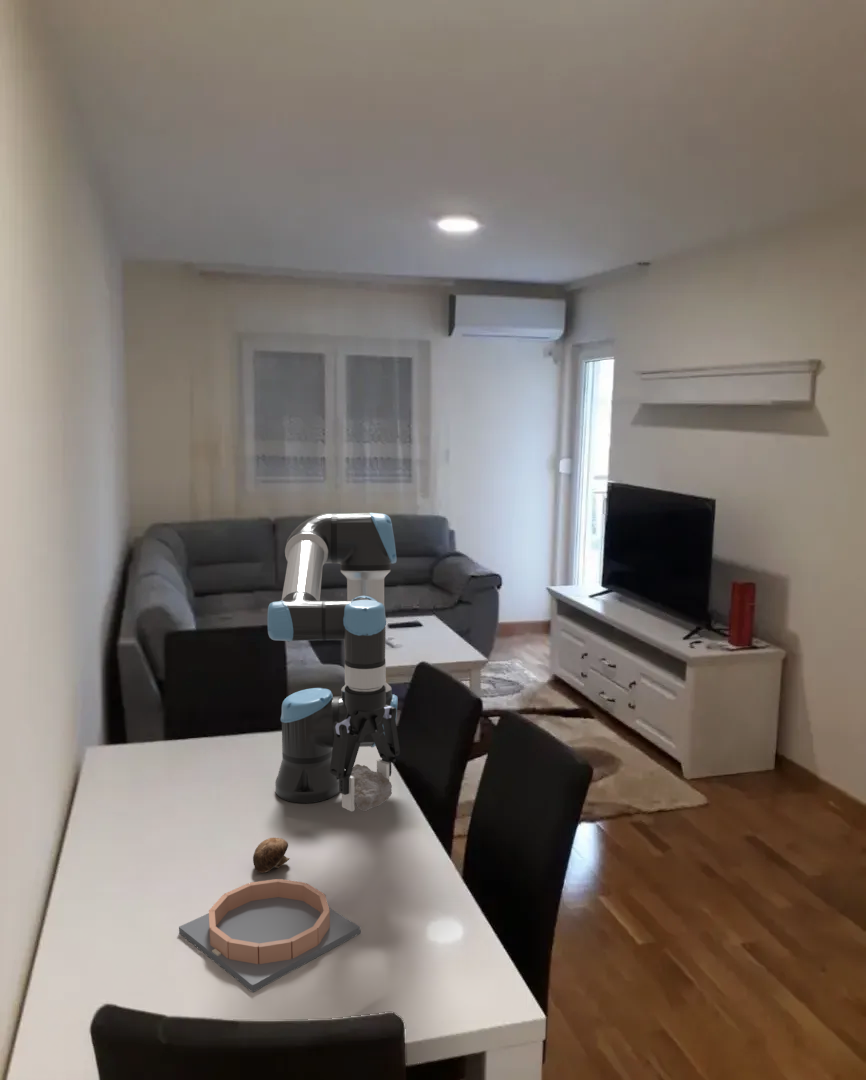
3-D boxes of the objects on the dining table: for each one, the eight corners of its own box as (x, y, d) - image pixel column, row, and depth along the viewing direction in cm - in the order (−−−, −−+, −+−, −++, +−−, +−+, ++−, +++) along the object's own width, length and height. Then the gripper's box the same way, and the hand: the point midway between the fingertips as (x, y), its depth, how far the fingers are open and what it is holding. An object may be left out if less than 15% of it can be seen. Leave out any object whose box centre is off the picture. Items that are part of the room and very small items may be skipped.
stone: (333, 796, 173) (332, 768, 172) (368, 785, 178) (368, 757, 177) (361, 816, 165) (360, 786, 164) (397, 804, 170) (397, 775, 169)
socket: (283, 884, 172) (283, 864, 171) (360, 933, 157) (360, 910, 156) (179, 933, 156) (178, 910, 156) (252, 992, 141) (252, 967, 140)
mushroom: (304, 847, 180) (284, 825, 178) (287, 879, 173) (266, 857, 171) (278, 855, 184) (258, 834, 182) (260, 887, 177) (239, 866, 176)
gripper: (392, 668, 177) (393, 778, 181) (307, 693, 162) (309, 812, 166) (419, 677, 172) (419, 789, 176) (334, 704, 157) (335, 826, 161)
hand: (366, 800), depth 171 cm, fingers closed on stone, 8 cm apart
